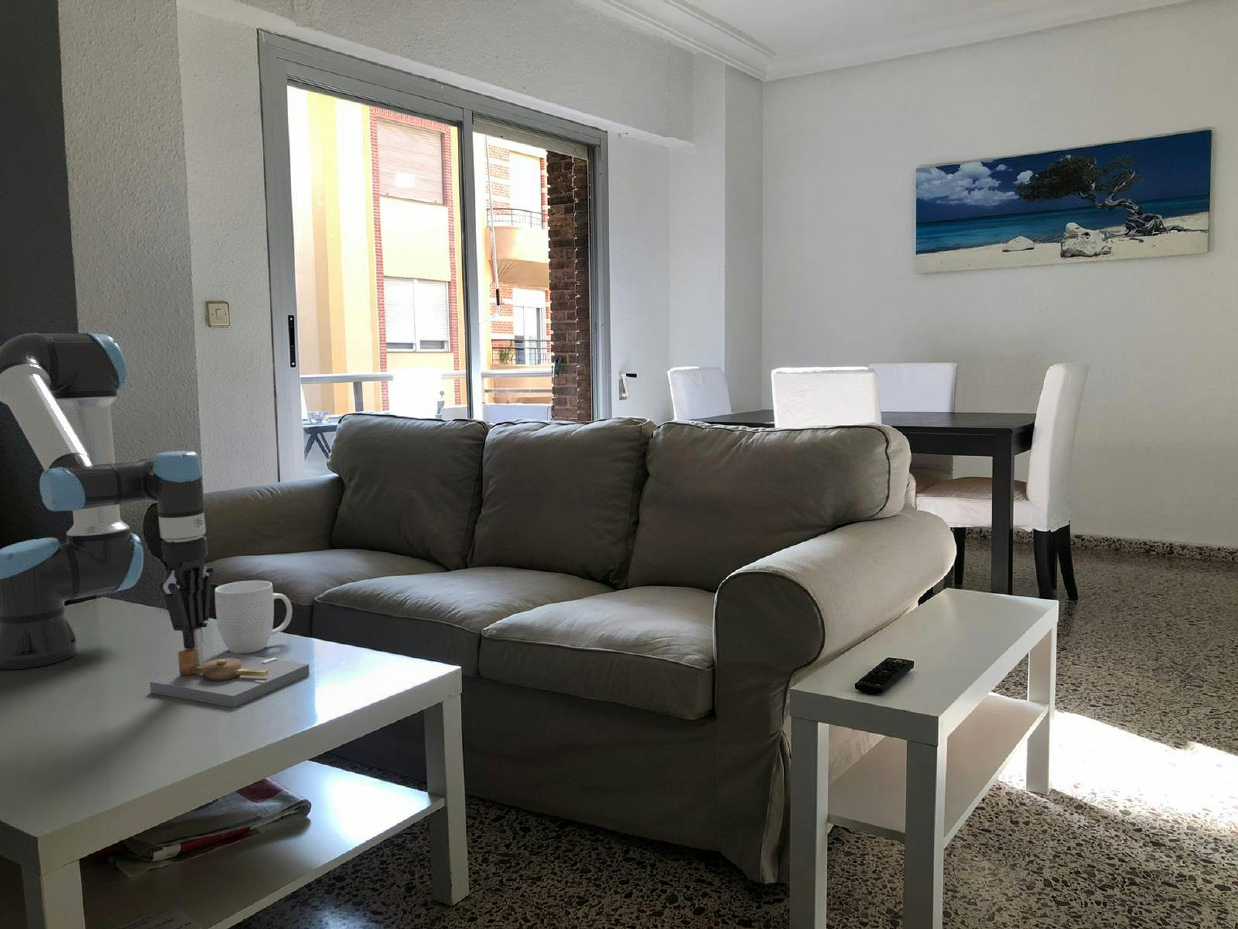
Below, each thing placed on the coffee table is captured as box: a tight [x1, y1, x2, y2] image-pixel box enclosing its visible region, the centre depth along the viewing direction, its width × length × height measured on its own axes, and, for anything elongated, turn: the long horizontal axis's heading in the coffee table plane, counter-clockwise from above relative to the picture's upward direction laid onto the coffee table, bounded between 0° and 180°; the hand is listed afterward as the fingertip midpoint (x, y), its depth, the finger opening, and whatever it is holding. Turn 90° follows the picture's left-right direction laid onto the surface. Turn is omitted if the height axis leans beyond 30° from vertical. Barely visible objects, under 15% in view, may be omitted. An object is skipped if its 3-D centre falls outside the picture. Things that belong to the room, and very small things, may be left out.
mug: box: [214, 580, 293, 655], centre depth 196 cm, size 15×11×13 cm
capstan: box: [177, 648, 268, 681], centre depth 173 cm, size 17×6×4 cm, turn 78°
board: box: [149, 652, 310, 708], centre depth 175 cm, size 20×18×2 cm
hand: (195, 663), depth 176 cm, fingers closed
